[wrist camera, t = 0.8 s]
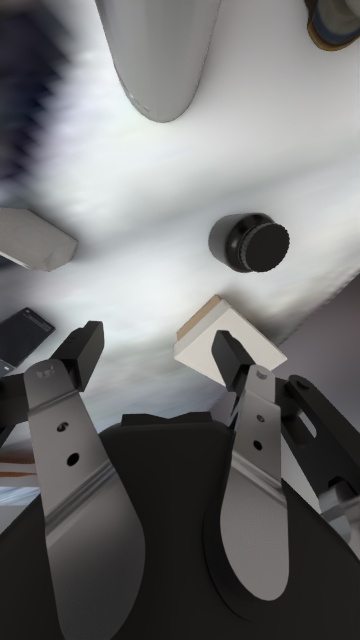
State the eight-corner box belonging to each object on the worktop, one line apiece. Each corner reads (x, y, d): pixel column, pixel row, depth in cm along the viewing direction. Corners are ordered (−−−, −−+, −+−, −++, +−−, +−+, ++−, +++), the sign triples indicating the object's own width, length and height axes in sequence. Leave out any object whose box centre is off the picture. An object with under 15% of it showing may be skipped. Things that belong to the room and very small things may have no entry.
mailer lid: (223, 298, 28) (238, 317, 22) (278, 348, 36) (298, 370, 30) (173, 346, 32) (175, 371, 27) (231, 380, 40) (242, 404, 35)
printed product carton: (27, 209, 22) (-55, 203, 14) (78, 241, 25) (36, 253, 16) (21, 233, 23) (-57, 242, 15) (70, 261, 26) (27, 282, 18)
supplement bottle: (255, 231, 26) (313, 239, 16) (228, 267, 29) (264, 293, 19) (225, 203, 24) (272, 193, 14) (198, 245, 27) (222, 262, 17)
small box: (25, 304, 29) (-33, 341, 20) (57, 328, 32) (18, 369, 24) (-11, 330, 31) (-78, 374, 22) (22, 350, 34) (-25, 396, 26)
